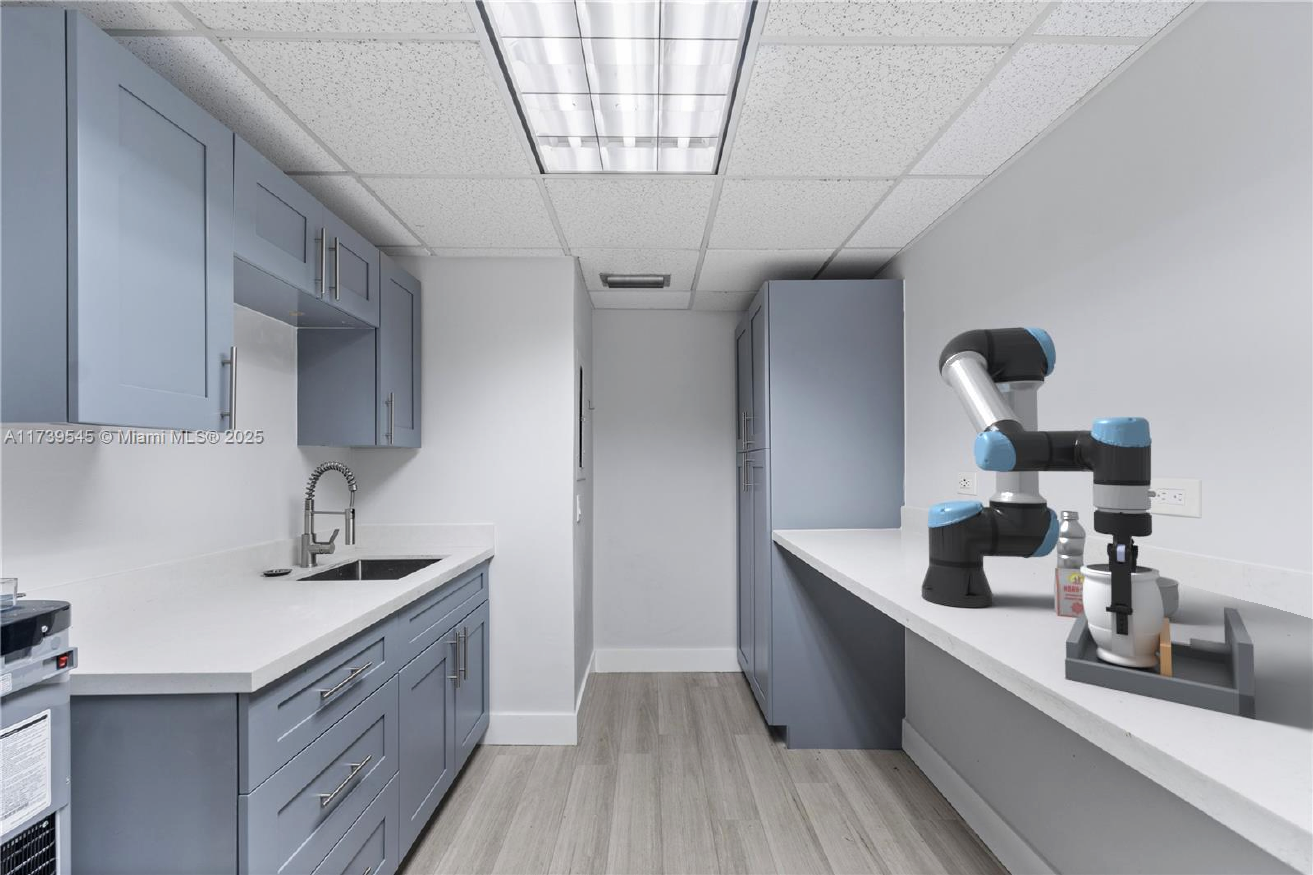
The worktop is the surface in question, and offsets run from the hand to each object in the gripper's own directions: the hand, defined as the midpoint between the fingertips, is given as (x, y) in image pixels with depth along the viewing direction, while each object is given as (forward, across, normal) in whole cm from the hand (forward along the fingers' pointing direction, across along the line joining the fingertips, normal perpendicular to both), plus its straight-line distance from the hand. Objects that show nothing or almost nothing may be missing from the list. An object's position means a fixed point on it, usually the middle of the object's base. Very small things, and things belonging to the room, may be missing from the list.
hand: (1124, 645), depth 95 cm
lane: (+4, 0, -4) cm, 5 cm away
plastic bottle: (+4, +55, +12) cm, 57 cm away
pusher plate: (+3, 0, -5) cm, 6 cm away
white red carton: (+4, +31, +10) cm, 33 cm away
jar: (+3, 0, 0) cm, 3 cm away
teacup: (+4, +42, -2) cm, 42 cm away
